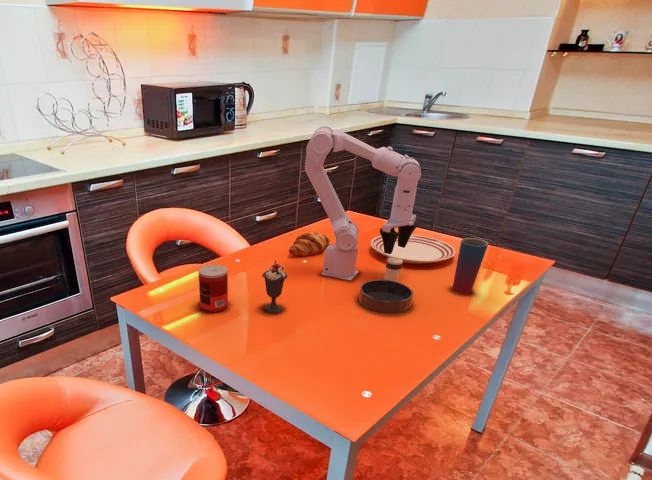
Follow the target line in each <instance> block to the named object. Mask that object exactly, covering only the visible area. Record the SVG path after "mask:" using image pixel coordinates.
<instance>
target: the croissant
mask: <svg viewBox="0 0 652 480" xmlns="http://www.w3.org/2000/svg"><path fill="white" fill-rule="evenodd" d="M330 242H331V236H327V235H326V234H321V233H319V232H309V231H307V232H303V233H300V234H299V235H297V236H296V239H295V241H294V242H293V243H292V245H291V246H290V247H289V249H288V253H289V254H290V255H293V256H300V257H305V256H312V255H315V254H318V253H321V252H322V251H324V250H325V249H326V248H327V247H328V245H329V244H330Z"/></svg>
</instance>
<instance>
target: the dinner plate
mask: <svg viewBox="0 0 652 480" xmlns="http://www.w3.org/2000/svg"><path fill="white" fill-rule="evenodd" d="M370 246H371V248H372V249H373V250H374V251H375V252H377V253H379V254H380V255H382V256H384V257H386V258H390V257H397V258H400V259H402V260H403V263H406V264H412V265H413V264H415V265H422V264H423V265H425V264H432V263H439V262H444V261H447V260H449V259H451V258H453V257H454V256H455V255H456V249H455V248H454V247H453V246H452V245H450V244H449V243H448V242H446V241H443V240H440V239H437V238H433V237H430V236H425V235H419V234H413V233H412V234H411V236H410V238H409V240H408V242H407V245H406V247H405V248H403V247H399V246H398V238H397V240H396V242H395V245H394V248H393V251H392V254H387V253H384V245H383V239H382V236H381V235H379V236H376V237H374V238H372V239H371V240H370Z"/></svg>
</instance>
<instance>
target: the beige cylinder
mask: <svg viewBox="0 0 652 480" xmlns="http://www.w3.org/2000/svg"><path fill="white" fill-rule="evenodd" d="M403 265H404V262H403V260H402V259H400V258H397V257H390V258H389V257H387V259H386V263H385V269H384V274H383V280H390V281H395V282H399V283H400V278H401V272H402V268H403Z"/></svg>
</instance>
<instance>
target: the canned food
mask: <svg viewBox="0 0 652 480" xmlns="http://www.w3.org/2000/svg"><path fill="white" fill-rule="evenodd" d="M228 278H229V274H228V268H227V267H226V266H225V265H222V264H206V265H203V266H201V267H200V268H199V269H198V287H199V305H200V308H201V310H203V311H205V312H206V313H207V312H208V313H219V312H222V311H224V310H226V308H227V307H228V303H229V288H228V287H229V283H228V282H229V279H228Z"/></svg>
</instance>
